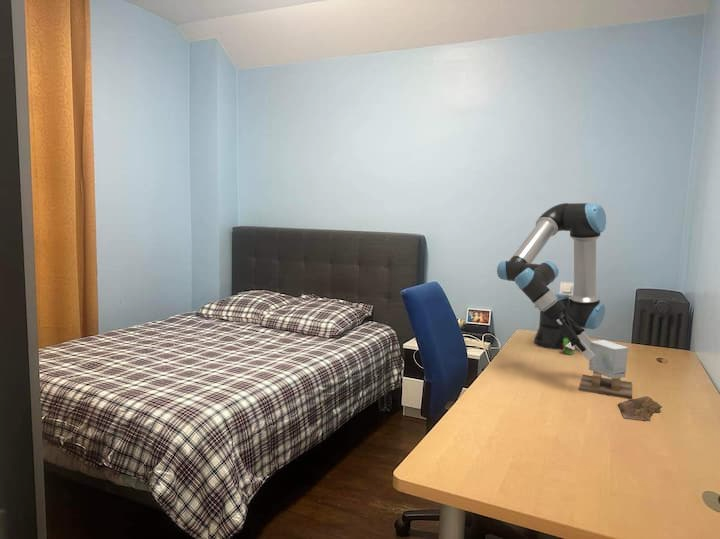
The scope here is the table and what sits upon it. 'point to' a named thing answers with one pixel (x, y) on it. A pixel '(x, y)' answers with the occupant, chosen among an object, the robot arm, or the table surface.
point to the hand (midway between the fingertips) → (592, 353)
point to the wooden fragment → (639, 408)
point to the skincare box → (608, 359)
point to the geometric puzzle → (567, 346)
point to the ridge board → (606, 386)
